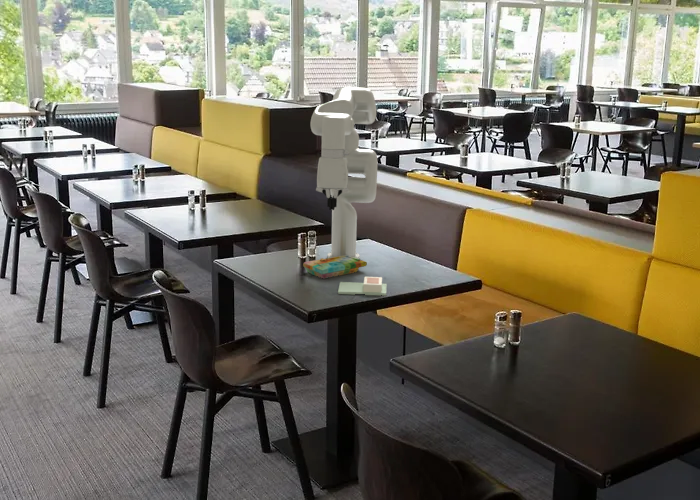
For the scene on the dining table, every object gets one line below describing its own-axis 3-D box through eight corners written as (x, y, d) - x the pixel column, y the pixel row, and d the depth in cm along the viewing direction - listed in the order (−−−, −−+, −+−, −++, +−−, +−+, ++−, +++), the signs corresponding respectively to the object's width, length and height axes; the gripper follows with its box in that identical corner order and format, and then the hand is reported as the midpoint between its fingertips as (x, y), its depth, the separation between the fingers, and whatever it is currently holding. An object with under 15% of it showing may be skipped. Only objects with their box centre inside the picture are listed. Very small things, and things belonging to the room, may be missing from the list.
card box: (364, 276, 270) (382, 277, 270) (364, 283, 271) (381, 284, 271) (363, 284, 262) (381, 284, 261) (363, 291, 262) (381, 292, 262)
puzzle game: (303, 260, 285) (347, 252, 297) (303, 273, 286) (347, 264, 298) (322, 267, 276) (366, 259, 288) (322, 280, 277) (366, 272, 289)
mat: (340, 284, 273) (340, 281, 272) (386, 285, 272) (386, 283, 272) (337, 293, 262) (337, 291, 262) (386, 295, 261) (386, 293, 261)
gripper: (356, 153, 261) (355, 207, 265) (311, 151, 262) (310, 206, 266) (355, 156, 254) (353, 212, 258) (308, 154, 254) (308, 210, 259)
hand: (332, 209), depth 262 cm, fingers closed
